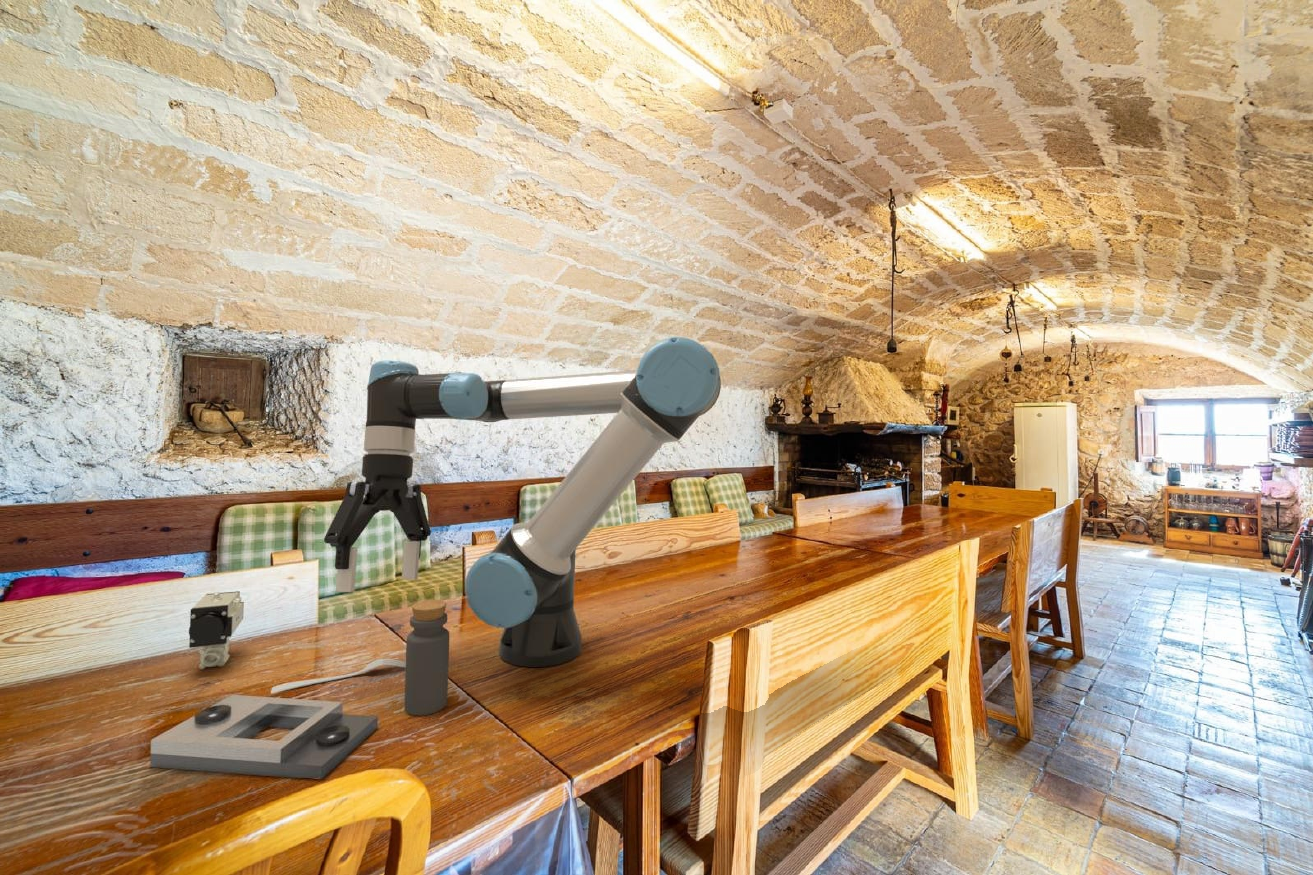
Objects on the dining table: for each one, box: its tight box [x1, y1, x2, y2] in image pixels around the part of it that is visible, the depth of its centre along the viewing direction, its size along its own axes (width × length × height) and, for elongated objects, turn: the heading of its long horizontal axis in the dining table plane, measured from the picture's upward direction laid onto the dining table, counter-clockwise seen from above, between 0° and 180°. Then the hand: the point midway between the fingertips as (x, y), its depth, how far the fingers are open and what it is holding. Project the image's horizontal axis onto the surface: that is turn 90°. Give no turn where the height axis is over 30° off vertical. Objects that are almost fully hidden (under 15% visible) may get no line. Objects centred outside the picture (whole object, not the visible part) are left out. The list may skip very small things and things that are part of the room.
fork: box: [270, 658, 406, 694], centre depth 86 cm, size 3×21×3 cm, turn 120°
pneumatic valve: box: [188, 590, 244, 670], centre depth 90 cm, size 6×12×12 cm, turn 28°
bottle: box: [403, 599, 450, 716], centre depth 78 cm, size 6×6×15 cm
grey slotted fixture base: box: [149, 694, 379, 781], centre depth 67 cm, size 21×11×4 cm, turn 86°
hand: (379, 585), depth 86 cm, fingers open, 13 cm apart
